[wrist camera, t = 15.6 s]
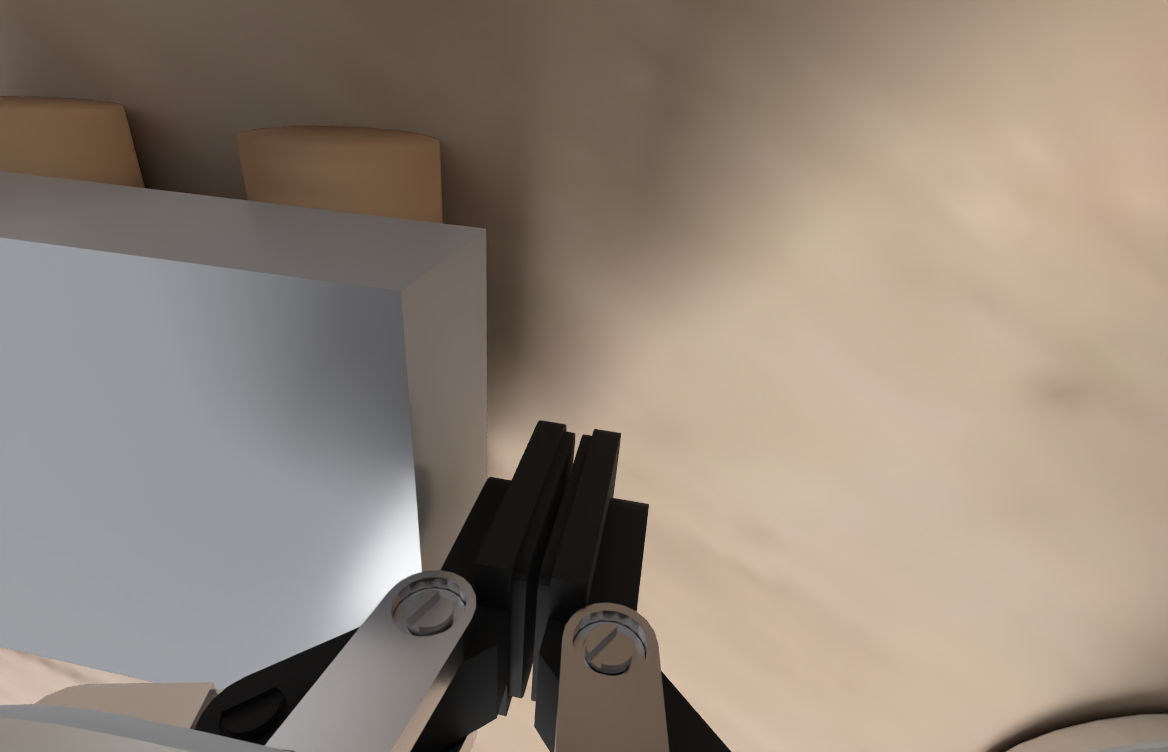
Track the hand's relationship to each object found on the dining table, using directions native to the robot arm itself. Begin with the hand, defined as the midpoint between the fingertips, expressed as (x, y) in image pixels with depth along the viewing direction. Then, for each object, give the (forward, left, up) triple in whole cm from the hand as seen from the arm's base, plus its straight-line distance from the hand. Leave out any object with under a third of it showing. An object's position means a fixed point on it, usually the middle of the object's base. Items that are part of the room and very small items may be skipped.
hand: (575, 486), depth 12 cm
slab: (+10, 0, -1) cm, 10 cm away
